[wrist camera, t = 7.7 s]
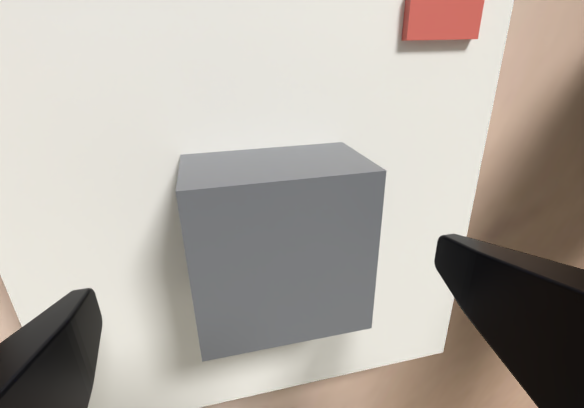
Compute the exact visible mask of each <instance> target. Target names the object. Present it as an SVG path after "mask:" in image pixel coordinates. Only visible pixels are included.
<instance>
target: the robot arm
mask: <svg viewBox="0 0 584 408" xmlns="http://www.w3.org/2000/svg"><path fill="white" fill-rule="evenodd" d="M434 264H435V267H436V270H437V271H438V273H439V274H440V276H441V278H442V279H443V281H444V282H445V284H446V285H447V287H448V289H449V290H450V292H451V293H452V295H453V296H454V298H455V299H456V301H457V303H458V304H459V306H460V307H461V309H462V310H463V312H464V313H465V314H466V316H467V317H468V318H469V320H470V321H471V322H472V324H473V325H474V326H475V327H476V329H477V330H478V331H479V333H480V334H481V335H482V336H483V338H484V339H485V340H486V341H487V343H488V344H489V345H490V347H491V348H492V349H493V350H494V352H495V353H496V354H497V355H498V357H499V358H500V359H501V361H502V362H503V363H504V364H505V366H506V367H507V368H508V370H509V371H510V372H511V373H512V375H513V376H514V377H515V378H516V380H517V381H518V382H519V384H520V385H521V386H522V387H523V389H524V390H525V391H526V392H527V394H528V395H529V396H530V398H531V399H532V400H533V401H534V403H535V404H536V405H537V407H538V408H584V269H580V268H576V267H573V266H569V265H566V264H562V263H558V262H555V261H551V260H548V259H544V258H540V257H537V256H533V255H530V254H526V253H522V252H519V251H515V250H512V249H508V248H504V247H501V246H497V245H494V244H490V243H486V242H483V241H479V240H476V239H472V238H468V237H465V236H461V235H458V234H446V235H441V236H440V237H439V238H438V241H437V247H436V253H435V259H434ZM101 332H102V315H101V311H100V308H99V305H98V301H97V298H96V294H95V292H94V290H93V289H92V288H84V289H77V290H73V291H71V292H69V293H68V294H67V295H65V296H64V297H62V298H61V299H60V300H58V301H57V302H56V303H54V304H53V305H52V306H50V307H49V308H48V309H46V310H45V311H43V312H42V313H41V314H39V315H38V316H37V317H35V318H34V319H33V320H31V321H30V322H28V323H27V324H26V325H24V326H23V327H22V328H20V329H19V330H18V331H16V332H15V333H13V334H12V335H11V336H9V337H8V338H7V339H5V340H4V341H3V342H1V343H0V408H88V404H89V401H90V397H91V393H92V389H93V384H94V378H95V371H96V365H97V358H98V351H99V345H100V338H101Z"/></svg>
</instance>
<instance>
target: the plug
mask: <svg viewBox="0 0 584 408" xmlns="http://www.w3.org/2000/svg"><path fill="white" fill-rule="evenodd" d="M385 182H386V170H385V169H383V168H382V167H380V166H379V165H377V164H375V163H374V162H372V161H371V160H369V159H368V158H366V157H365V156H363V155H362V154H360V153H358V152H357V151H355V150H354V149H352V148H351V147H349V146H348V145H346V144H345V143H343V142H337V143H324V144H311V145H298V146H285V147H272V148H260V149H247V150H234V151H221V152H208V153H196V154H183V155H180V162H179V170H178V177H177V184H176V191H175V192H176V198H177V204H178V211H179V217H180V223H181V230H182V236H183V243H184V249H185V255H186V262H187V268H188V274H189V281H190V287H191V294H192V300H193V306H194V313H195V319H196V325H197V332H198V338H199V344H200V351H201V357H202V362H204V361H209V360H214V359H219V358H224V357H229V356H234V355H239V354H244V353H249V352H254V351H259V350H264V349H269V348H274V347H279V346H284V345H289V344H294V343H300V342H305V341H310V340H315V339H320V338H325V337H330V336H335V335H340V334H345V333H350V332H355V331H360V330H365V329H370V328H372V319H373V308H374V298H375V287H376V277H377V266H378V255H379V245H380V234H381V224H382V213H383V203H384V192H385Z"/></svg>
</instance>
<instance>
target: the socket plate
mask: <svg viewBox="0 0 584 408" xmlns="http://www.w3.org/2000/svg"><path fill="white" fill-rule="evenodd" d="M513 3H514V0H0V275H1V278H2V280H3V282H4V285H5V287H6V290H7V292H8V295H9V297H10V299H11V302H12V304H13V307H14V309H15V311H16V314H17V316H18V319H19V321H20V323H21V326H22V327H23V326H24V325H26V324H27V323H28V322H30V321H31V320H33V319H34V318H35V317H37V316H38V315H39V314H41V313H42V312H43V311H45V310H46V309H48V308H49V307H50V306H52V305H53V304H54V303H56V302H57V301H58V300H60V299H61V298H62V297H64V296H65V295H67V294H68V293H69V292H71V291H73V290H77V289H84V288H92V289H93V290H94V292H95V294H96V298H97V301H98V305H99V308H100V311H101V315H102V332H101V338H100V345H99V351H98V358H97V365H96V371H95V378H94V384H93V389H92V393H91V397H90V401H89V404H88V408H200V407H205V406H209V405H214V404H218V403H222V402H227V401H231V400H236V399H240V398H244V397H249V396H253V395H258V394H262V393H266V392H271V391H275V390H280V389H284V388H288V387H293V386H297V385H302V384H306V383H310V382H315V381H319V380H324V379H328V378H332V377H337V376H341V375H346V374H350V373H355V372H359V371H363V370H368V369H372V368H377V367H381V366H385V365H390V364H394V363H399V362H403V361H407V360H412V359H416V358H421V357H425V356H429V355H434V354H438V353H443V351H444V346H445V341H446V336H447V331H448V326H449V321H450V316H451V311H452V306H453V301H454V296H453V295H452V293H451V292H450V290H449V289H448V287H447V285H446V284H445V282H444V281H443V279H442V278H441V276H440V274H439V273H438V271H437V270H436V267H435V264H434V259H435V253H436V247H437V241H438V238H439V237H440V236H441V235H446V234H458V235H461V236H465V237H467V232H468V227H469V222H470V217H471V212H472V207H473V202H474V197H475V192H476V187H477V182H478V177H479V172H480V167H481V162H482V157H483V152H484V147H485V142H486V137H487V132H488V127H489V122H490V117H491V113H492V108H493V103H494V98H495V93H496V88H497V83H498V78H499V73H500V68H501V63H502V58H503V53H504V48H505V43H506V38H507V33H508V28H509V23H510V18H511V13H512V8H513ZM337 142H343V143H345V144H346V145H348V146H349V147H351V148H352V149H354V150H355V151H357V152H358V153H360V154H362V155H363V156H365V157H366V158H368V159H369V160H371V161H372V162H374V163H375V164H377V165H379V166H380V167H382V168H383V169H385V170H386V182H385V192H384V203H383V213H382V224H381V234H380V245H379V255H378V266H377V277H376V287H375V298H374V308H373V319H372V328H370V329H365V330H360V331H355V332H350V333H345V334H340V335H335V336H330V337H325V338H320V339H315V340H310V341H305V342H300V343H294V344H289V345H284V346H279V347H274V348H269V349H264V350H259V351H254V352H249V353H244V354H239V355H234V356H229V357H224V358H219V359H214V360H209V361H204V362H202V357H201V351H200V344H199V338H198V332H197V325H196V319H195V313H194V306H193V300H192V294H191V287H190V281H189V274H188V268H187V262H186V255H185V249H184V243H183V236H182V230H181V223H180V217H179V211H178V204H177V198H176V192H175V191H176V184H177V177H178V170H179V162H180V155H183V154H196V153H208V152H221V151H234V150H247V149H260V148H272V147H285V146H298V145H311V144H324V143H337Z"/></svg>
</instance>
